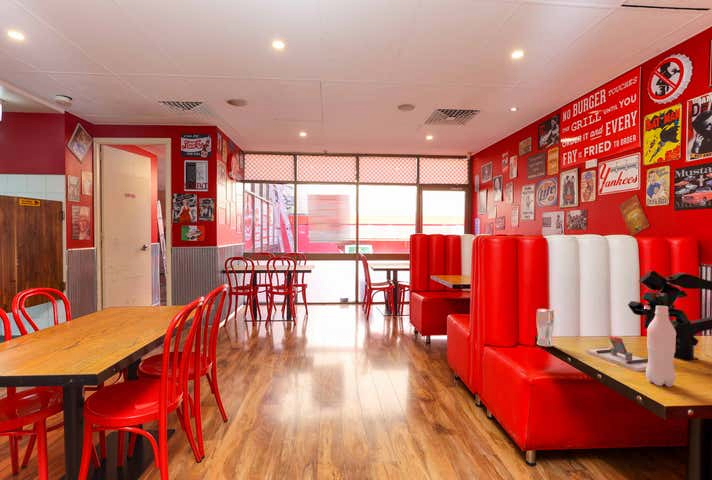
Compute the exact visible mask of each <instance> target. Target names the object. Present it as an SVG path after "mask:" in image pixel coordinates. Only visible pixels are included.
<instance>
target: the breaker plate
mask: <svg viewBox="0 0 712 480" xmlns="http://www.w3.org/2000/svg"><path fill="white" fill-rule="evenodd" d="M586 354H588V355H591V356H593V357H596V356H597V357H596V358H599V359H602V360H606V361H608V362H610V363H613V364H615V363H616V364H617V365H618V366H621V367H624V368H626V369H629V370H633V371H635V372H641V371H646V368H647V365H648V358H642V357H639V356H635V355H634V354H633V352H628V351H627V353H626V354H625V355H624V354H621V353H618V352H615V350H614V347H608V348H595V349H593V348H592V349H586Z"/></svg>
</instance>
